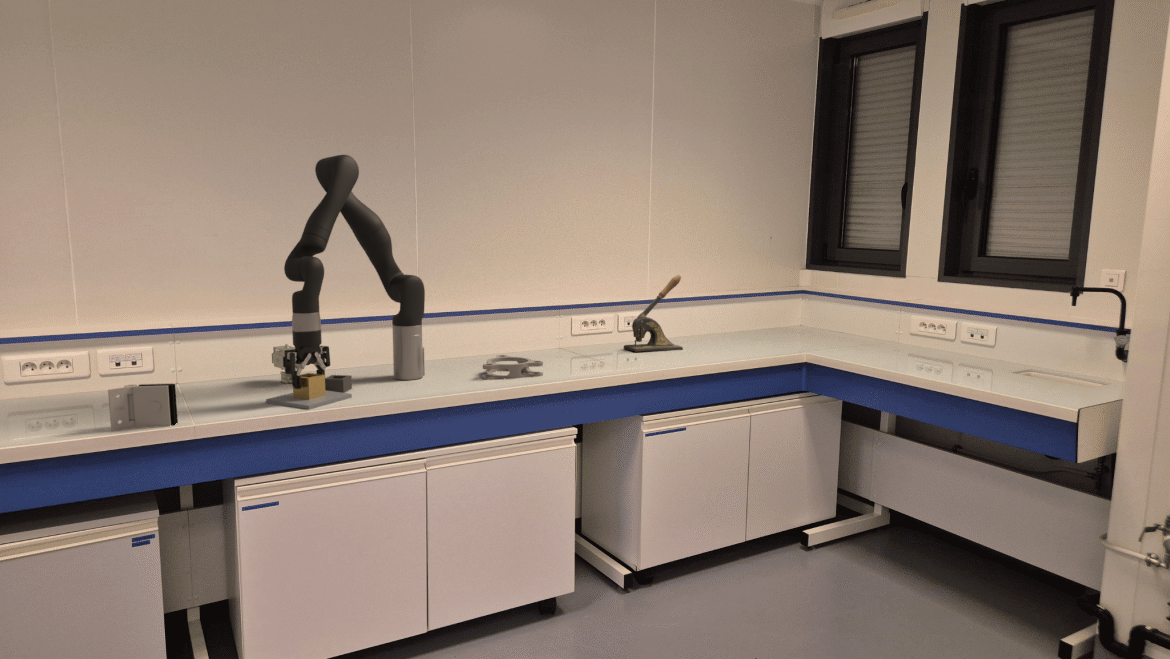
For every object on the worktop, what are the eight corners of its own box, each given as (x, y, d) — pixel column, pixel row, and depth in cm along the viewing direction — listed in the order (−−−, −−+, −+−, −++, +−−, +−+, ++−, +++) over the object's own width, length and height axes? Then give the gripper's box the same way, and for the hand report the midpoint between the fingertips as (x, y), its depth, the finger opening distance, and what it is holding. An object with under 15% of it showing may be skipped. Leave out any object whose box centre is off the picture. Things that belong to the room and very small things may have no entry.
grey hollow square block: (332, 387, 227) (332, 374, 227) (351, 388, 227) (351, 375, 226) (323, 392, 221) (323, 378, 221) (343, 392, 221) (343, 379, 220)
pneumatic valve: (287, 378, 240) (286, 341, 239) (303, 384, 232) (302, 345, 231) (270, 380, 237) (268, 343, 235) (286, 386, 228) (284, 347, 227)
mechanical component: (485, 381, 241) (484, 366, 240) (472, 370, 258) (472, 356, 257) (545, 377, 248) (545, 362, 247) (528, 367, 265) (528, 353, 265)
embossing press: (622, 349, 305) (623, 274, 300) (673, 345, 314) (675, 273, 310) (634, 353, 295) (635, 276, 290) (686, 350, 304) (688, 275, 300)
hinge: (110, 431, 178) (107, 390, 177) (114, 426, 183) (111, 385, 182) (176, 425, 184) (174, 385, 183) (179, 420, 189) (176, 381, 187)
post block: (310, 391, 222) (309, 371, 221) (351, 397, 215) (351, 376, 214) (266, 402, 208) (265, 381, 207) (309, 409, 201) (308, 387, 200)
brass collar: (309, 393, 215) (308, 372, 215) (325, 395, 213) (324, 374, 212) (293, 397, 210) (292, 376, 209) (309, 399, 208) (308, 378, 207)
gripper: (316, 324, 217) (318, 379, 219) (276, 330, 204) (279, 389, 206) (335, 326, 214) (337, 382, 216) (296, 332, 201) (299, 392, 203)
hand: (309, 385), depth 211 cm, fingers open, 8 cm apart
